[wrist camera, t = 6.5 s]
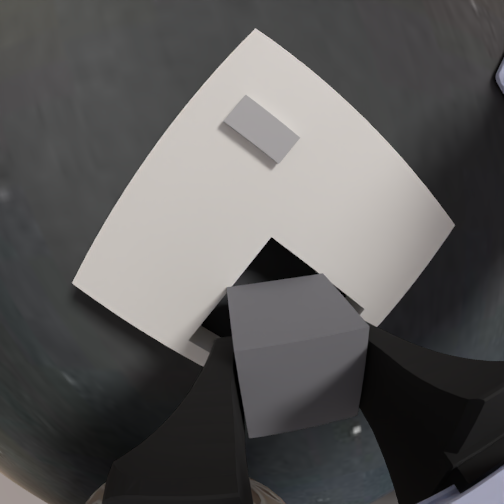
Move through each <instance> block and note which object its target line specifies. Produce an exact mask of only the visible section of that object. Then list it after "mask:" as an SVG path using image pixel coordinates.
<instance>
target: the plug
mask: <svg viewBox="0 0 504 504" xmlns="http://www.w3.org/2000/svg"><path fill="white" fill-rule="evenodd" d="M227 296H228V305H229V314H230V322H231V331H232V339H233V347H234V354H235V360H236V366H237V372H238V378H239V384H240V390H241V396H242V402H243V407H244V413H245V418H246V424H247V429H248V435H249V438H256V437H262V436H268V435H274V434H280V433H285V432H291V431H296V430H301V429H305V428H310V427H314V426H319V425H323V424H327V423H331V422H335V421H339V420H343V419H346V418H350V417H354V416H357V414H358V409H359V403H360V397H361V391H362V384H363V378H364V370H365V363H366V355H367V346H368V337H369V327H370V326H369V325H368V324H367V323H366V322H365V321H364V319H363V318H362V317H361V316H360V315H359V314H358V313H357V311H356V310H355V309H354V308H353V307H352V306H351V304H350V303H349V302H348V301H347V300H346V299H345V298H344V296H343V295H342V294H341V293H340V292H339V291H338V290H337V288H336V287H335V286H334V285H333V284H332V283H331V282H330V281H329V279H328V278H327V277H326V276H325V275H324V274H323V273H322V274H315V275H309V276H302V277H295V278H289V279H282V280H275V281H268V282H261V283H254V284H247V285H239V286H232V287H227Z"/></svg>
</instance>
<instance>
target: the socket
mask: <svg viewBox="0 0 504 504" xmlns="http://www.w3.org/2000/svg"><path fill="white" fill-rule="evenodd" d="M454 226H455V224H454V223H453V222H452V220H451V219H450V217H449V216H448V215H447V213H446V212H445V211H444V209H443V208H442V207H441V205H440V204H439V203H438V201H437V200H436V199H435V197H434V196H433V195H432V194H431V192H430V191H429V190H428V188H427V187H426V186H425V185H424V183H423V182H422V181H421V180H420V179H419V177H418V176H417V175H416V174H415V173H414V171H413V170H412V169H411V168H410V167H409V166H408V164H407V163H406V162H405V161H404V160H403V159H402V158H401V156H400V155H399V154H398V153H397V152H396V151H395V150H394V149H393V147H392V146H391V145H390V144H389V143H388V142H387V141H386V140H385V139H384V138H383V137H382V136H381V135H380V134H379V133H378V132H377V131H376V129H375V128H374V127H373V126H372V125H371V124H370V123H369V122H368V121H367V120H366V119H365V118H364V117H363V116H362V115H361V114H360V113H358V112H357V111H356V110H355V109H354V108H353V107H352V106H351V105H350V104H349V103H348V102H347V101H346V100H345V99H344V98H343V97H341V96H340V95H339V94H338V93H337V92H336V91H335V90H334V89H333V88H331V87H330V86H329V85H328V84H327V83H326V82H325V81H323V80H322V79H321V78H320V77H319V76H318V75H316V74H315V73H314V72H313V71H312V70H310V69H309V68H308V67H307V66H305V65H304V64H303V63H302V62H300V61H299V60H298V59H297V58H295V57H294V56H293V55H291V54H290V53H289V52H288V51H286V50H285V49H284V48H282V47H281V46H280V45H278V44H277V43H275V42H274V41H273V40H271V39H270V38H269V37H267V36H266V35H264V34H263V33H261V32H260V31H259V30H257V29H255V30H254V31H253V32H252V33H251V34H250V35H249V36H248V37H247V38H246V39H245V40H244V41H243V42H242V43H241V44H240V45H239V46H238V47H237V48H236V49H235V50H234V51H233V52H232V53H231V54H230V55H229V56H228V57H227V59H226V60H225V61H224V62H223V63H222V64H221V65H220V66H219V67H218V68H217V69H216V71H215V72H214V73H213V74H212V75H211V76H210V77H209V79H208V80H207V81H206V82H205V83H204V84H203V86H202V87H201V88H200V89H199V90H198V91H197V93H196V94H195V95H194V96H193V97H192V99H191V100H190V101H189V102H188V104H187V105H186V106H185V107H184V108H183V110H182V111H181V112H180V114H179V115H178V116H177V117H176V119H175V120H174V121H173V122H172V124H171V125H170V126H169V128H168V129H167V130H166V132H165V133H164V134H163V136H162V137H161V138H160V140H159V141H158V142H157V144H156V145H155V147H154V148H153V149H152V151H151V152H150V154H149V155H148V156H147V158H146V159H145V161H144V162H143V164H142V165H141V166H140V168H139V169H138V171H137V172H136V174H135V175H134V177H133V178H132V180H131V181H130V183H129V184H128V186H127V188H126V189H125V191H124V192H123V194H122V195H121V197H120V198H119V200H118V202H117V203H116V205H115V206H114V208H113V210H112V211H111V213H110V215H109V216H108V218H107V220H106V221H105V223H104V225H103V227H102V228H101V230H100V232H99V233H98V235H97V237H96V239H95V241H94V242H93V244H92V246H91V248H90V250H89V251H88V253H87V255H86V257H85V259H84V261H83V263H82V264H81V266H80V268H79V270H78V272H77V274H76V276H75V278H74V280H73V282H72V284H74V285H75V286H76V287H78V288H79V289H80V290H82V291H83V292H85V293H86V294H87V295H89V296H90V297H92V298H93V299H94V300H96V301H97V302H99V303H100V304H102V305H103V306H104V307H106V308H107V309H109V310H110V311H112V312H113V313H115V314H116V315H118V316H119V317H121V318H122V319H124V320H125V321H127V322H128V323H130V324H132V325H133V326H135V327H136V328H138V329H139V330H141V331H143V332H144V333H146V334H147V335H149V336H151V337H152V338H154V339H156V340H157V341H159V342H161V343H162V344H164V345H166V346H167V347H169V348H171V349H172V350H174V351H176V352H178V353H179V354H181V355H183V356H185V357H186V358H188V359H190V360H192V361H194V362H195V363H197V364H199V365H201V366H203V367H204V365H205V363H206V361H207V358H208V356H209V354H210V351H211V348H212V345H213V342H214V340H215V339H216V338H221V337H219V336H218V335H216V334H214V333H212V332H211V331H209V330H207V329H206V328H204V327H202V326H201V324H202V323H203V322H204V320H205V319H206V318H207V317H208V315H209V314H210V313H211V312H212V310H213V309H214V308H215V307H216V305H217V304H218V303H219V302H220V300H221V299H222V298H223V297H224V296H225V294H226V293H227V287H232V286H233V284H234V283H235V282H236V281H237V279H238V278H239V277H240V276H241V274H242V273H243V272H244V271H245V269H246V268H247V267H248V266H249V264H250V263H251V262H252V261H253V259H254V258H255V257H256V256H257V254H258V253H259V252H260V251H261V249H262V248H263V247H264V246H265V244H266V243H267V242H268V241H269V239H270V238H271V237H272V238H273V239H275V240H276V241H277V242H279V243H280V244H281V245H283V246H284V247H285V248H287V249H288V250H289V251H291V252H292V253H293V254H294V255H296V256H297V257H298V258H300V259H301V260H302V261H304V262H305V263H306V264H308V265H309V266H310V267H311V268H313V269H314V270H315V271H317V272H318V273H319V274H322V273H323V274H324V275H325V276H326V277H327V278H328V279H329V281H330V282H331V283H332V284H333V285H335V286H336V287H337V288H339V289H340V290H341V291H342V292H344V293H345V294H346V295H347V296H346V297H345V299H346V300H347V301H348V302H349V303H350V304H351V306H352V307H353V308H354V309H355V310H356V311H357V313H358V314H359V315H360V316H361V317H362V318H363V319H364V321H366V322H368V323H370V324H372V325H374V326H376V327H378V326H379V324H380V323H381V322H382V321H383V320H384V319H385V317H386V316H387V315H388V314H389V313H390V312H391V310H392V309H393V308H394V307H395V306H396V304H397V303H398V302H399V301H400V300H401V298H402V297H403V296H404V295H405V293H406V292H407V291H408V290H409V288H410V287H411V286H412V284H413V283H414V282H415V281H416V279H417V278H418V277H419V275H420V274H421V273H422V271H423V270H424V269H425V267H426V266H427V265H428V263H429V262H430V261H431V259H432V258H433V257H434V255H435V254H436V252H437V251H438V250H439V248H440V247H441V245H442V244H443V242H444V241H445V239H446V238H447V237H448V235H449V234H450V232H451V231H452V229H453V228H454Z"/></svg>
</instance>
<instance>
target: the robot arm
mask: <svg viewBox="0 0 504 504" xmlns="http://www.w3.org/2000/svg"><path fill="white" fill-rule="evenodd" d="M495 77H496V82H497V84H498V86H499V87H500V89H501V90H502V92H503V94H504V58H503V60H502V62H501V65H500V67H499V69H498V71H497V73H496V76H495ZM365 322H366V321H365ZM366 323H367V324H368V325H369V326H370V327H369V337H368V346H367V355H366V363H365V370H364V378H363V384H362V391H361V397H360V403H359V408H360V409H361V411H362V413H363V414H364V416H365V418H366V419H367V421H368V423H369V425H370V427H371V428H372V430H373V433H374V435H375V437H376V440H377V442H378V444H379V447H380V449H381V452H382V454H383V457H384V460H385V462H386V465H387V468H388V470H389V473H390V476H391V479H392V483H393V486H394V489H395V492H396V496H397V499H398V503H399V504H504V361H483V360H473V359H466V358H461V357H456V356H451V355H447V354H443V353H439V352H436V351H432V350H429V349H426V348H423V347H420V346H418V345H415V344H413V343H410V342H408V341H405V340H403V339H401V338H399V337H396V336H394V335H392V334H390V333H388V332H386V331H384V330H382V329H380V328H378V327H376V326H374V325H372V324H370V323H368V322H366ZM102 504H254V503H253V498H252V492H251V486H250V480H249V474H248V467H247V461H246V451H245V427H244V407H243V402H242V396H241V390H240V384H239V378H238V372H237V366H236V360H235V354H234V347H233V339H232V336H230V337H222V338H216V339H215V340H214V342H213V345H212V348H211V351H210V354H209V356H208V358H207V361H206V363H205V365H204V367H203V369H202V371H201V373H200V375H199V377H198V378H197V380H196V382H195V383H194V385H193V387H192V388H191V390H190V391H189V393H188V394H187V396H186V397H185V399H184V400H183V401H182V403H181V404H180V405H179V406H178V408H177V409H176V410H175V411H174V412H173V414H172V415H171V416H170V417H169V418H168V419H167V420H166V421H165V422H164V423H163V424H162V426H160V427H159V428H158V429H157V430H156V431H155V432H154V433H153V434H152V435H150V436H149V437H148V438H147V439H146V440H145V441H143V442H142V443H141V444H140V445H138V446H137V447H135V448H134V449H132V450H131V451H129V452H128V453H126V454H125V455H123V456H122V457H120V458H119V459H117V460H115V461H114V462H113V464H112V467H111V469H110V472H109V474H108V477H107V480H106V484H105V489H104V494H103V499H102Z"/></svg>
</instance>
